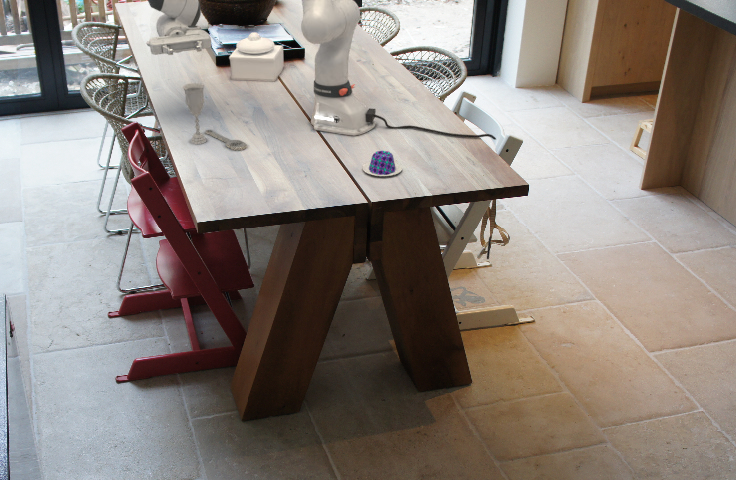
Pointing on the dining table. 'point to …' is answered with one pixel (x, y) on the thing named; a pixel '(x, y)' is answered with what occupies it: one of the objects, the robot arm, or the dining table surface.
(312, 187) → the dining table surface
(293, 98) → the dining table surface
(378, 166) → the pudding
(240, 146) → the spoon
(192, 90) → the chalice
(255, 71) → the white square lidded jar
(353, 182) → the dining table surface
